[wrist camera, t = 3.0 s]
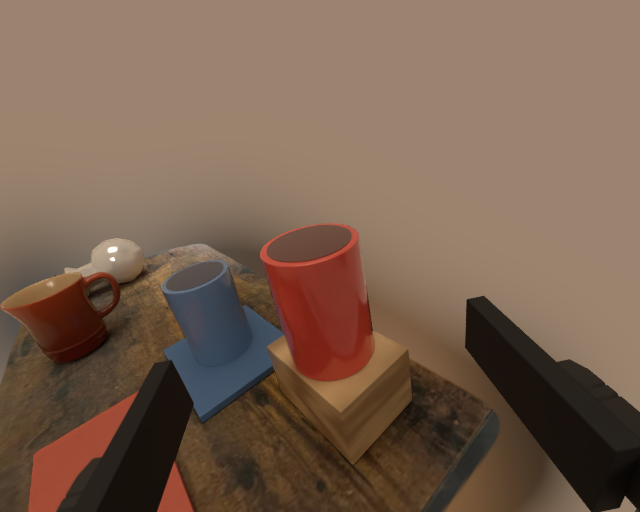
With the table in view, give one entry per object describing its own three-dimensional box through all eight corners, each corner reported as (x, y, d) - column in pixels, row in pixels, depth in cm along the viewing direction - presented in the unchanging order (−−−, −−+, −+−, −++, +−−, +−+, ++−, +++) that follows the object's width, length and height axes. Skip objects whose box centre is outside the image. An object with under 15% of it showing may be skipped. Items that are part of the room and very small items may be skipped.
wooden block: (412, 399, 27) (408, 348, 24) (353, 466, 23) (340, 412, 20) (336, 349, 34) (327, 305, 31) (281, 392, 30) (265, 346, 28)
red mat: (217, 567, 19) (212, 561, 18) (11, 777, 14) (0, 774, 13) (149, 391, 34) (146, 385, 33) (38, 458, 28) (33, 453, 28)
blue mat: (301, 351, 35) (300, 345, 34) (202, 423, 29) (199, 417, 28) (246, 308, 45) (245, 304, 45) (165, 354, 39) (162, 350, 39)
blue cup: (263, 341, 36) (238, 268, 32) (207, 377, 33) (170, 301, 28) (237, 318, 42) (213, 254, 38) (187, 348, 38) (153, 280, 34)
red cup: (392, 342, 25) (380, 230, 21) (329, 399, 21) (298, 277, 17) (334, 311, 30) (315, 217, 26) (275, 352, 27) (242, 250, 22)
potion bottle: (159, 275, 67) (86, 316, 60) (137, 247, 70) (65, 282, 63) (146, 252, 59) (60, 295, 52) (122, 221, 62) (38, 258, 55)
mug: (46, 382, 38) (-6, 317, 34) (46, 351, 45) (3, 294, 41) (144, 331, 45) (111, 271, 41) (133, 311, 51) (103, 257, 47)
